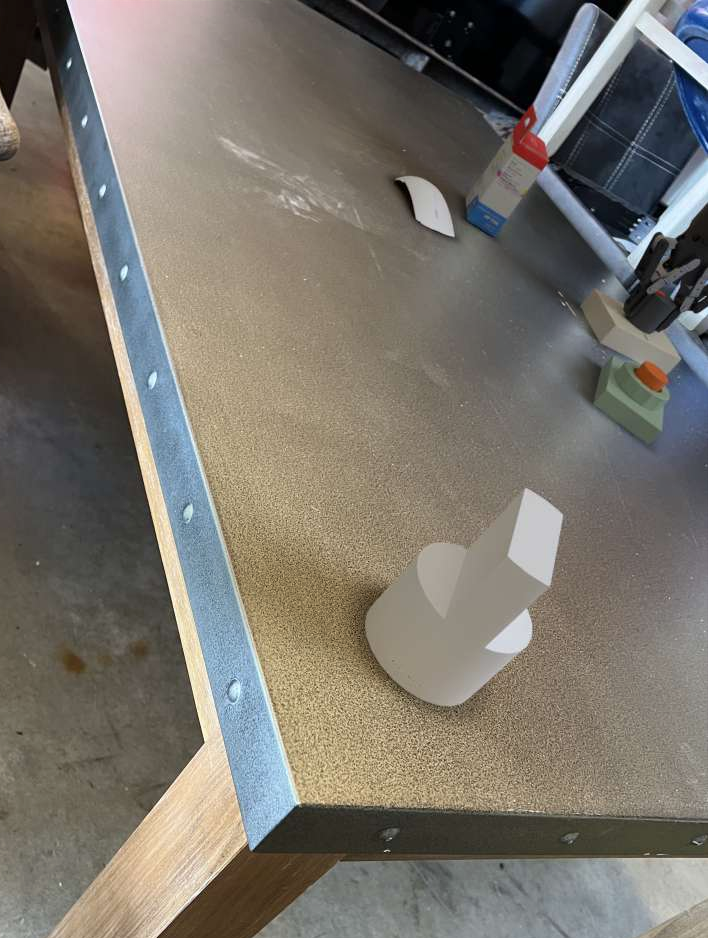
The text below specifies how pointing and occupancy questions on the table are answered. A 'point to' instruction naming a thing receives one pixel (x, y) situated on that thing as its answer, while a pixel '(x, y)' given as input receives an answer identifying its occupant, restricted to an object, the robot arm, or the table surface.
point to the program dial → (653, 312)
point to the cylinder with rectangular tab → (466, 605)
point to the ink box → (507, 177)
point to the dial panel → (627, 333)
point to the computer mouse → (429, 205)
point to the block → (630, 399)
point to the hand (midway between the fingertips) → (641, 320)
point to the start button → (651, 376)
